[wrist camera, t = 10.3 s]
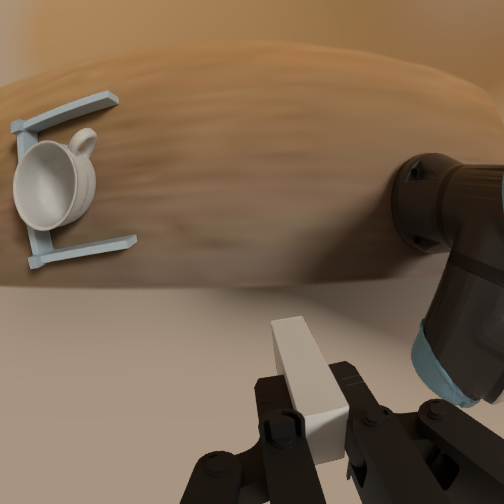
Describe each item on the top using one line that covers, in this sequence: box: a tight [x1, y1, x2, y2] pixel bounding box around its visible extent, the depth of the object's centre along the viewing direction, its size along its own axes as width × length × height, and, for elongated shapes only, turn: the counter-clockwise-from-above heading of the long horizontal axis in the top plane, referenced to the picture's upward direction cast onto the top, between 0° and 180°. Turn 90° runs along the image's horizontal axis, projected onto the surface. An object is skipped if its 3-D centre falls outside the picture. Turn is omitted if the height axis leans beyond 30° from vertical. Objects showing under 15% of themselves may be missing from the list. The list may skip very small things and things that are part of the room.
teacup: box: [13, 128, 97, 231], centre depth 32 cm, size 14×11×8 cm
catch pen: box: [11, 90, 137, 269], centre depth 34 cm, size 15×21×5 cm
